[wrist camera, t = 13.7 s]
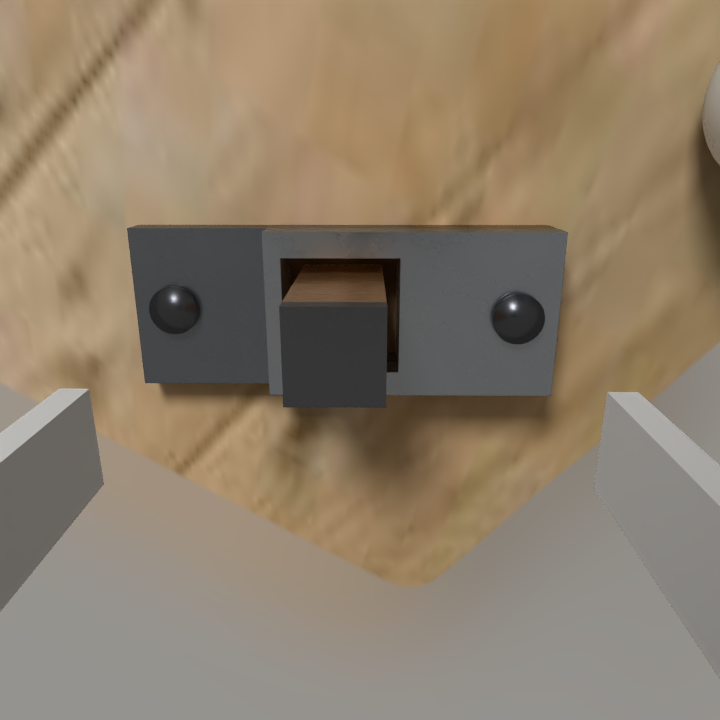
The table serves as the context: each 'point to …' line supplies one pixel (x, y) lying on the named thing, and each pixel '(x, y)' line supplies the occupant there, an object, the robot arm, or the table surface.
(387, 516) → the table surface
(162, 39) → the table surface
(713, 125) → the lidded jar
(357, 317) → the square wooden peg
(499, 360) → the slotted plate with knobs
